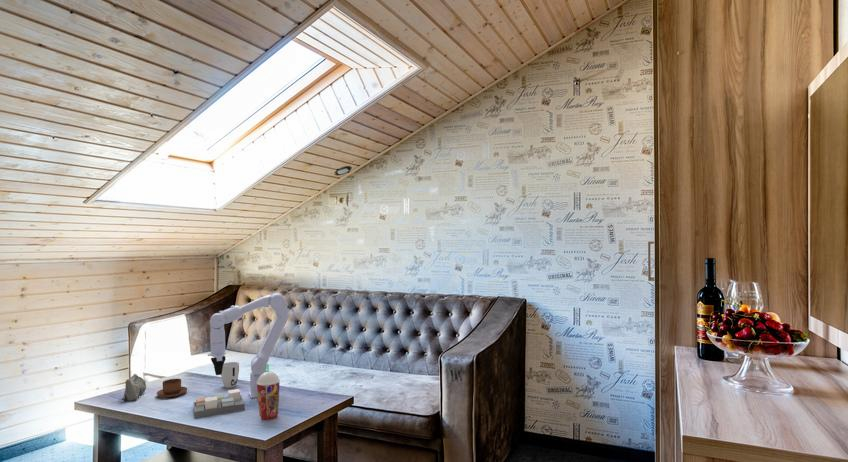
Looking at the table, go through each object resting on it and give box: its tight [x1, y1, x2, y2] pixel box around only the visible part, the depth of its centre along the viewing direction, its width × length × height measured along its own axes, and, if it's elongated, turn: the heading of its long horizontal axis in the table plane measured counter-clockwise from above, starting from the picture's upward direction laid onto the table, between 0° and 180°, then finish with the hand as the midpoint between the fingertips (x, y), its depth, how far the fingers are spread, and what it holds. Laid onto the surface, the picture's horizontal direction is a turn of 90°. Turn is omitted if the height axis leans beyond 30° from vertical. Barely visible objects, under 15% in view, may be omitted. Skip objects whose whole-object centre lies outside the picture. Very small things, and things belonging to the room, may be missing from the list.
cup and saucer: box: [156, 378, 188, 398], centre depth 222 cm, size 12×12×6 cm
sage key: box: [211, 394, 225, 403], centre depth 204 cm, size 4×4×4 cm
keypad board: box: [193, 394, 246, 419], centre depth 202 cm, size 18×12×2 cm
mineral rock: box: [123, 373, 147, 401], centre depth 221 cm, size 13×11×10 cm
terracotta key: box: [195, 396, 209, 406], centre depth 202 cm, size 4×4×4 cm
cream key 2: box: [227, 388, 241, 400], centre depth 207 cm, size 4×4×4 cm
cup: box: [220, 361, 240, 389], centre depth 232 cm, size 8×8×10 cm
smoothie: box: [257, 363, 281, 421], centre depth 191 cm, size 8×8×20 cm
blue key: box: [221, 397, 234, 407], centre depth 200 cm, size 4×4×4 cm
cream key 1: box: [205, 396, 217, 410], centre depth 198 cm, size 4×4×4 cm
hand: (218, 374), depth 214 cm, fingers closed
